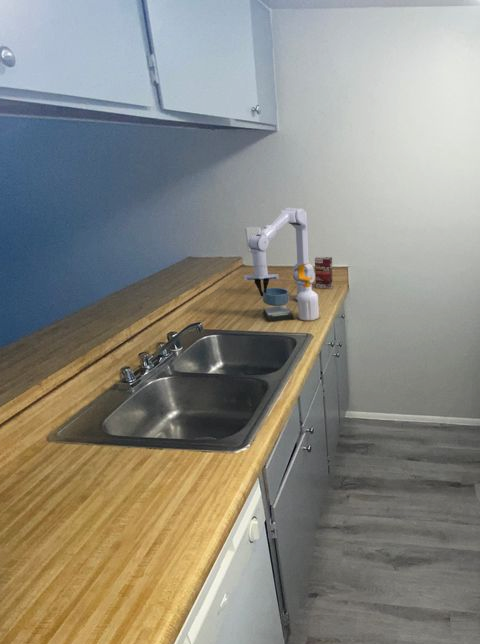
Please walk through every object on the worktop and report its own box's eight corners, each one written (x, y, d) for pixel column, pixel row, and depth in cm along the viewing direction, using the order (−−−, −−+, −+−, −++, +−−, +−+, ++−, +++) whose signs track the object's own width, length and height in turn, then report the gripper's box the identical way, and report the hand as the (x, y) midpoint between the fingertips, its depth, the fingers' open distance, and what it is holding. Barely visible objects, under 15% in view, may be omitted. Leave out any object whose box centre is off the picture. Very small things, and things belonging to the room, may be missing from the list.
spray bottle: (311, 322, 207) (307, 265, 195) (294, 318, 211) (290, 263, 199) (322, 316, 214) (320, 261, 202) (306, 313, 218) (303, 259, 206)
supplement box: (315, 288, 256) (314, 258, 248) (318, 285, 260) (316, 256, 252) (331, 288, 254) (330, 259, 247) (333, 286, 259) (332, 257, 251)
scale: (263, 313, 218) (263, 307, 216) (287, 310, 221) (286, 305, 220) (268, 322, 207) (268, 316, 206) (293, 319, 211) (292, 313, 209)
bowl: (261, 299, 215) (260, 288, 213) (285, 297, 219) (285, 287, 217) (265, 306, 206) (264, 295, 204) (291, 305, 210) (290, 294, 208)
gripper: (242, 267, 199) (246, 298, 206) (277, 266, 201) (279, 297, 208) (243, 263, 205) (247, 294, 212) (277, 262, 207) (279, 293, 214)
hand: (263, 295), depth 210 cm, fingers closed on bowl
